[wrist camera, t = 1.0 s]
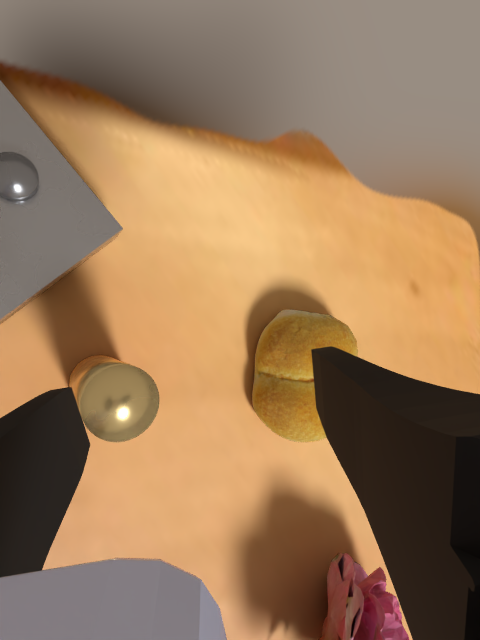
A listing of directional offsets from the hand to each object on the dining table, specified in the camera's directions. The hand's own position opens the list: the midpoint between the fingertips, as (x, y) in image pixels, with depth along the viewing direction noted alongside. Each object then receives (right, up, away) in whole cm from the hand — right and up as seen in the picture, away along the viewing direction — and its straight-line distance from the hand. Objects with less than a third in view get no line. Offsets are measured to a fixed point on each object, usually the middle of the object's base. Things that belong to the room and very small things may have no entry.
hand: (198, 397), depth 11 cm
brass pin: (-7, -1, +10) cm, 12 cm away
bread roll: (+5, -1, +16) cm, 17 cm away
